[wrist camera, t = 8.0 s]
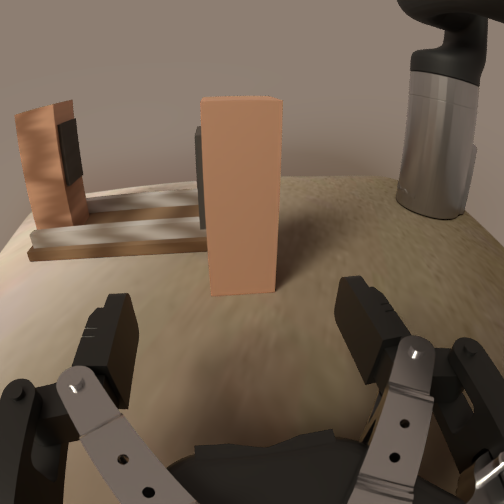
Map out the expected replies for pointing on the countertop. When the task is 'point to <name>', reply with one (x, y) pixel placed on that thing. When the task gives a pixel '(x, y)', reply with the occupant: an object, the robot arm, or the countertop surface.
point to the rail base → (94, 200)
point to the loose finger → (240, 190)
